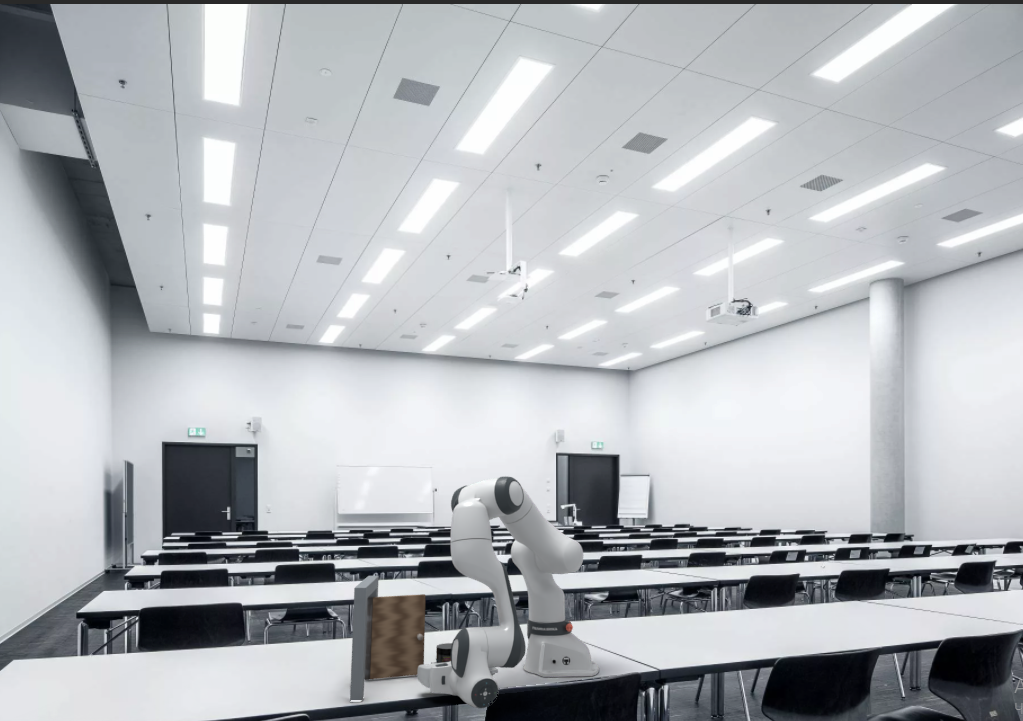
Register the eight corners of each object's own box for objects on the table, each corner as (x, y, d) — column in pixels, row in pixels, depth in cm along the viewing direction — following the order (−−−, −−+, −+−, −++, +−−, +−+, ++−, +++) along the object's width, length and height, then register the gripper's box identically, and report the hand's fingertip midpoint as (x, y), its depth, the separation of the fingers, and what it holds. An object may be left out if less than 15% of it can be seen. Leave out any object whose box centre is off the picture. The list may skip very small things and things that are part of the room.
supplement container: (455, 681, 192) (456, 642, 194) (463, 687, 186) (464, 647, 188) (432, 684, 190) (433, 644, 192) (439, 690, 184) (440, 649, 185)
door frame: (364, 676, 197) (368, 575, 202) (375, 676, 197) (378, 575, 202) (349, 702, 173) (354, 587, 178) (361, 702, 174) (366, 587, 179)
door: (366, 681, 190) (369, 599, 194) (364, 678, 193) (367, 597, 197) (424, 675, 196) (426, 595, 200) (422, 672, 199) (424, 594, 203)
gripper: (500, 659, 182) (482, 648, 194) (426, 667, 174) (412, 655, 186) (500, 685, 181) (482, 671, 193) (425, 694, 173) (411, 679, 185)
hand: (447, 663), depth 190 cm, fingers closed on supplement container, 7 cm apart
